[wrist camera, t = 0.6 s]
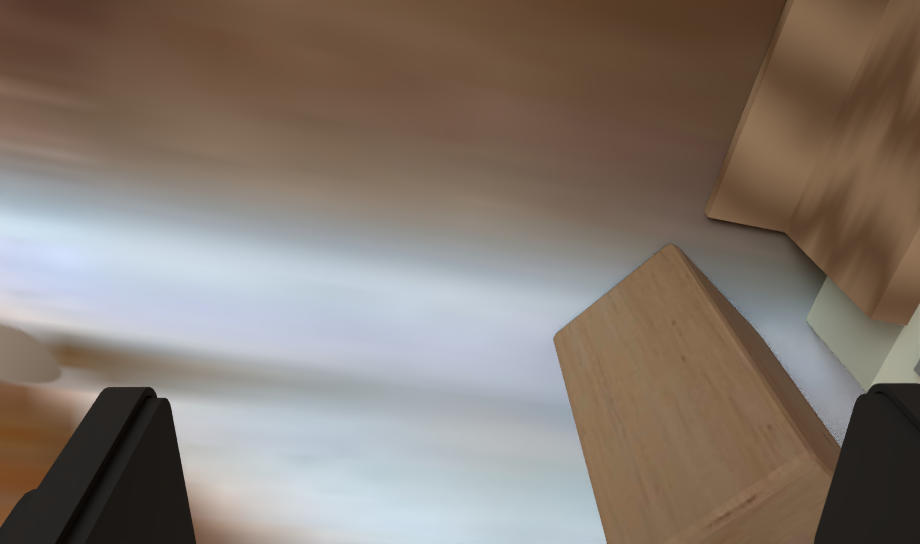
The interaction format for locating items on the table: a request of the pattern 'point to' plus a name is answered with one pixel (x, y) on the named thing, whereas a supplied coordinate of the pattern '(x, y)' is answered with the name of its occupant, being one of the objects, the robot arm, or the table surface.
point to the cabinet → (866, 339)
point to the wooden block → (690, 417)
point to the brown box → (837, 148)
